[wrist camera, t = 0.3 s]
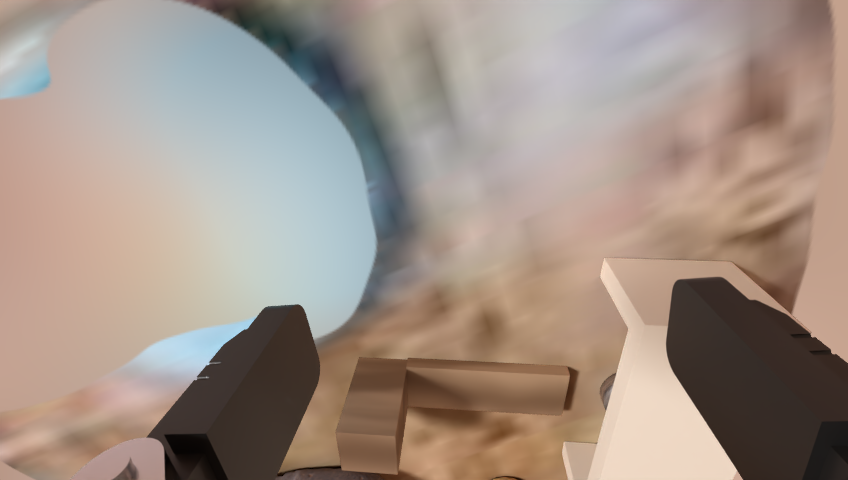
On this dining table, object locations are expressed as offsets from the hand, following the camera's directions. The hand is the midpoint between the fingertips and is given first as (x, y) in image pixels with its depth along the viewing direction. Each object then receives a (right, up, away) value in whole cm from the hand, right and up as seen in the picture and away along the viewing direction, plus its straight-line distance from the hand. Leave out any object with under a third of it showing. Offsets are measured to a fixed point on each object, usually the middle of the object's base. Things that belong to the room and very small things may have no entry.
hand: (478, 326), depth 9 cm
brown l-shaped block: (+2, -10, +25) cm, 26 cm away
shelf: (+15, -8, +23) cm, 28 cm away
